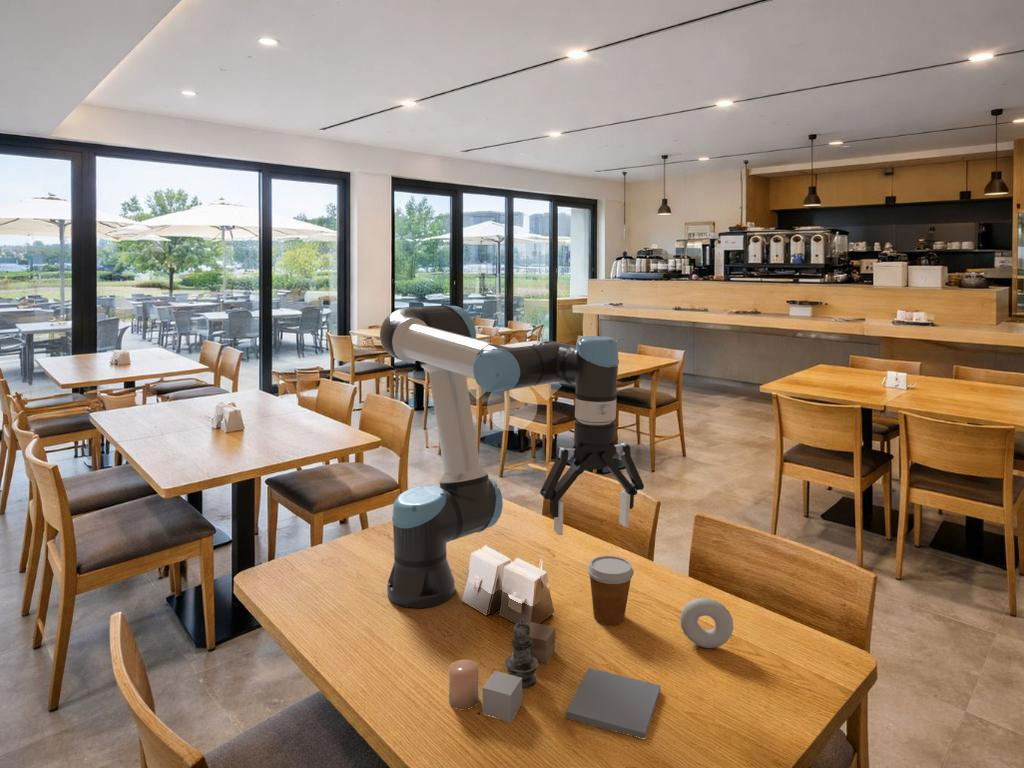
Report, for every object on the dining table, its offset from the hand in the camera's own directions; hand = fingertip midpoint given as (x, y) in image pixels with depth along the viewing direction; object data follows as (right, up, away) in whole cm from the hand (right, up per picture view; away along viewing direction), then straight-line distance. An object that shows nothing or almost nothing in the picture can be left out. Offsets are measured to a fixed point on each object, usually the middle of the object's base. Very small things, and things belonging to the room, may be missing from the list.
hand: (591, 528), depth 127 cm
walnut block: (-10, -24, 0) cm, 26 cm away
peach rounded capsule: (-23, -26, -13) cm, 38 cm away
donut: (+23, -24, +3) cm, 33 cm away
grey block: (-17, -27, -16) cm, 35 cm away
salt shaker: (-13, -26, -8) cm, 30 cm away
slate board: (+2, -27, -14) cm, 30 cm away
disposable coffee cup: (+5, -22, +13) cm, 26 cm away
